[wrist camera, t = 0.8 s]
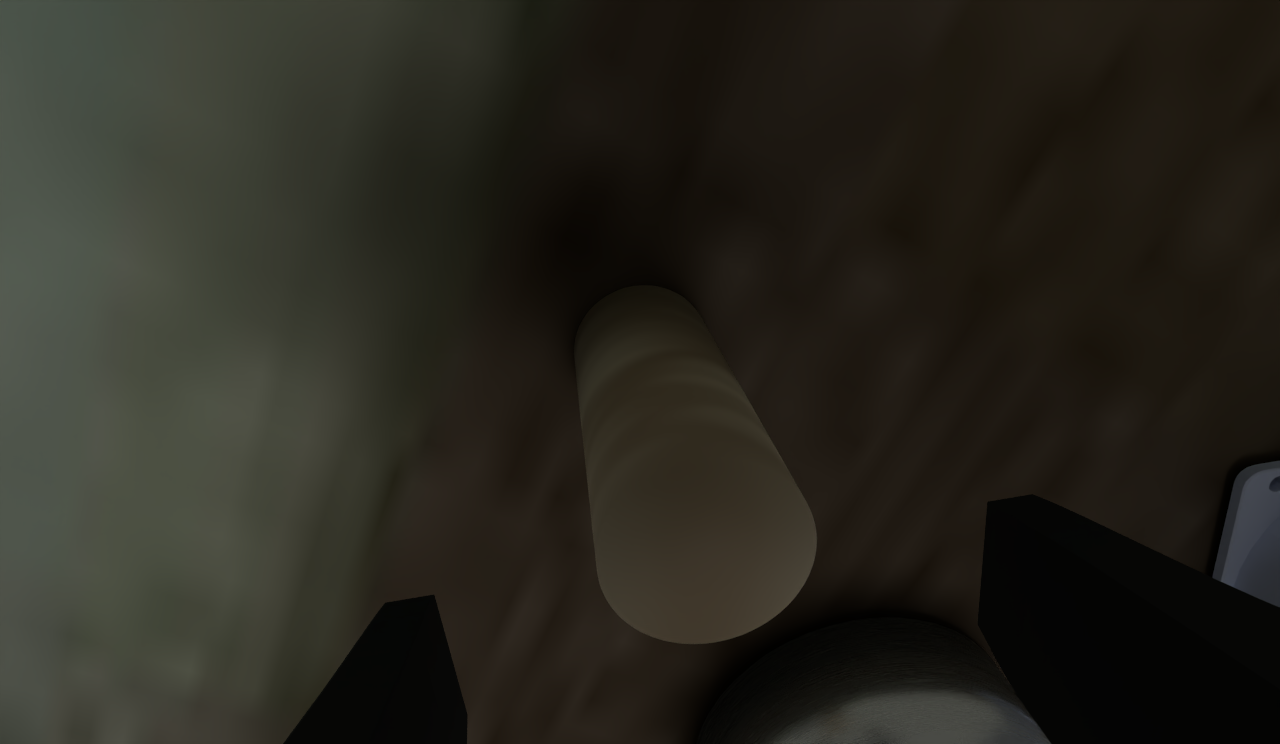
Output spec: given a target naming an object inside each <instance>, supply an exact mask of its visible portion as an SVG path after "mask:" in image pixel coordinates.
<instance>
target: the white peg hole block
mask: <svg viewBox="0 0 1280 744" xmlns="http://www.w3.org/2000/svg"><path fill="white" fill-rule="evenodd" d="M696 744H1051V743H1050V741H1049V740H1048V738H1047V737H1046V736H1045V734H1044V733H1043V731H1042V730H1041V729H1040V727H1039V726H1038V724H1037V723H1036V722H1035V720H1034V719H1033V717H1032V716H1031V715H1030V713H1029V712H1028V710H1027V709H1026V708H1025V706H1024V705H1023V703H1022V702H1021V700H1020V699H1019V698H1018V696H1017V695H1016V693H1015V691H1014V689H1013V688H1012V686H1011V685H1010V683H1009V682H1008V681H1007V679H1006V678H1005V677H1004V675H1003V674H1002V672H1001V671H1000V670H999V668H998V667H997V665H996V664H995V663H994V661H993V660H992V659H991V658H990V657H989V656H988V655H987V653H986V652H985V651H984V650H983V649H982V648H981V647H979V646H978V645H977V644H976V643H974V642H973V641H972V640H971V639H969V638H967V637H965V636H964V635H962V634H960V633H958V632H956V631H955V630H952V629H949V628H947V627H944V626H941V625H939V624H936V623H931V622H927V621H922V620H918V619H909V618H899V617H884V618H868V619H860V620H852V621H848V622H843V623H839V624H834V625H830V626H827V627H824V628H821V629H818V630H815V631H812V632H809V633H807V634H804V635H802V636H800V637H798V638H795V639H793V640H791V641H789V642H787V643H785V644H783V645H781V646H780V647H778V648H776V649H774V650H773V651H771V652H769V653H768V654H766V655H765V656H763V657H762V658H761V659H759V660H758V661H756V662H755V663H754V664H752V665H751V666H749V667H748V668H747V669H746V670H745V671H744V672H743V673H742V674H741V675H739V676H738V677H737V678H736V679H735V680H734V681H733V682H732V683H731V684H730V685H729V687H728V688H727V689H726V690H725V691H724V692H723V693H722V694H721V696H720V697H719V698H718V700H717V701H716V703H715V704H714V706H713V707H712V709H711V710H710V712H709V714H708V716H707V718H706V720H705V722H704V724H703V726H702V728H701V730H700V734H699V737H698V740H697V743H696Z"/></svg>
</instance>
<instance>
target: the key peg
mask: <svg viewBox="0 0 1280 744" xmlns="http://www.w3.org/2000/svg"><path fill="white" fill-rule="evenodd" d="M574 360H575V369H576V379H577V388H578V397H579V407H580V416H581V426H582V435H583V444H584V454H585V463H586V472H587V482H588V491H589V501H590V510H591V519H592V529H593V538H594V548H595V557H596V566H597V575H598V579H599V583H600V587H601V589H602V592H603V594H604V596H605V598H606V600H607V601H608V603H609V604H610V606H611V608H612V609H613V610H614V611H615V612H616V613H617V614H618V616H619V617H621V618H622V619H623V620H624V621H625V622H626V623H628V624H629V625H630V626H632V627H634V628H635V629H637V630H638V631H640V632H642V633H644V634H647V635H649V636H651V637H654V638H657V639H660V640H664V641H669V642H674V643H683V644H705V643H713V642H719V641H723V640H728V639H731V638H734V637H737V636H740V635H743V634H745V633H748V632H750V631H752V630H754V629H756V628H758V627H760V626H761V625H763V624H765V623H767V622H768V621H769V620H771V619H772V618H774V617H775V616H776V615H778V614H779V613H780V612H781V611H782V610H783V609H784V608H786V607H787V606H788V605H789V604H790V602H791V601H792V600H793V599H794V598H795V597H796V596H797V594H798V593H799V591H800V590H801V588H802V587H803V585H804V584H805V582H806V580H807V578H808V576H809V574H810V571H811V569H812V566H813V563H814V559H815V554H816V545H817V535H816V526H815V522H814V519H813V515H812V513H811V511H810V508H809V506H808V504H807V502H806V500H805V499H804V497H803V495H802V493H801V492H800V490H799V488H798V486H797V485H796V483H795V481H794V479H793V478H792V476H791V474H790V472H789V471H788V469H787V467H786V465H785V464H784V462H783V460H782V458H781V457H780V455H779V453H778V451H777V449H776V448H775V446H774V444H773V442H772V441H771V439H770V437H769V435H768V434H767V432H766V430H765V428H764V427H763V425H762V423H761V421H760V420H759V418H758V416H757V414H756V413H755V411H754V409H753V407H752V406H751V404H750V402H749V400H748V399H747V397H746V395H745V393H744V391H743V390H742V388H741V386H740V384H739V383H738V381H737V379H736V377H735V376H734V374H733V372H732V370H731V369H730V367H729V365H728V363H727V362H726V360H725V358H724V356H723V355H722V353H721V351H720V349H719V348H718V346H717V344H716V342H715V341H714V339H713V337H712V335H711V334H710V332H709V330H708V328H707V326H706V325H705V323H704V321H703V319H702V318H701V316H700V315H699V313H698V311H697V310H696V309H695V308H694V307H693V305H692V304H691V303H690V302H688V301H687V300H686V299H685V298H684V297H682V296H681V295H679V294H677V293H675V292H673V291H671V290H669V289H666V288H662V287H658V286H652V285H638V286H631V287H626V288H623V289H620V290H617V291H615V292H613V293H611V294H608V295H607V296H605V297H604V298H602V299H601V300H600V301H598V302H597V303H596V304H595V305H594V306H593V307H592V308H591V309H590V310H589V311H588V312H587V314H586V315H585V317H584V318H583V320H582V322H581V324H580V326H579V328H578V331H577V334H576V338H575V343H574Z"/></svg>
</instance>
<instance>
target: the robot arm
mask: <svg viewBox="0 0 1280 744" xmlns="http://www.w3.org/2000/svg"><path fill="white" fill-rule="evenodd" d="M978 626H979V628H980V630H981V631H982V633H983V635H984V637H985V639H986V641H987V643H988V645H989V646H990V648H991V650H992V652H993V654H994V656H995V658H996V660H997V661H998V663H999V665H1000V667H1001V669H1002V670H1003V672H1004V674H1005V676H1006V677H1007V679H1008V681H1009V682H1010V684H1011V686H1012V688H1013V689H1014V691H1015V693H1016V695H1017V696H1018V698H1019V699H1020V700H1021V702H1022V703H1023V705H1024V706H1025V708H1026V709H1027V710H1028V712H1029V713H1030V715H1031V716H1032V717H1033V719H1034V720H1035V722H1036V723H1037V724H1038V726H1039V727H1040V729H1041V730H1042V731H1043V733H1044V734H1045V736H1046V737H1047V738H1048V740H1049V741H1050V743H1051V744H1280V461H1274V462H1268V463H1262V464H1256V465H1252V466H1249V467H1246V468H1245V469H1244V470H1242V471H1241V472H1240V473H1239V474H1238V475H1237V476H1236V479H1235V481H1234V485H1233V489H1232V494H1231V498H1230V502H1229V507H1228V511H1227V515H1226V520H1225V524H1224V528H1223V533H1222V537H1221V541H1220V546H1219V550H1218V555H1217V559H1216V563H1215V568H1214V572H1213V576H1212V577H1210V576H1208V575H1205V574H1203V573H1201V572H1199V571H1197V570H1195V569H1193V568H1190V567H1188V566H1186V565H1184V564H1182V563H1180V562H1178V561H1175V560H1173V559H1171V558H1169V557H1167V556H1165V555H1163V554H1161V553H1159V552H1157V551H1154V550H1152V549H1150V548H1148V547H1146V546H1144V545H1142V544H1140V543H1138V542H1136V541H1134V540H1131V539H1129V538H1127V537H1125V536H1123V535H1121V534H1119V533H1117V532H1115V531H1113V530H1111V529H1109V528H1106V527H1104V526H1102V525H1100V524H1098V523H1096V522H1094V521H1092V520H1090V519H1087V518H1085V517H1083V516H1081V515H1079V514H1077V513H1075V512H1072V511H1070V510H1068V509H1066V508H1064V507H1062V506H1059V505H1057V504H1055V503H1052V502H1050V501H1048V500H1045V499H1043V498H1040V497H1038V496H1035V495H1033V494H1031V495H1025V496H1020V497H1014V498H1008V499H1002V500H996V501H990V502H988V503H987V515H986V528H985V540H984V552H983V565H982V577H981V589H980V602H979V614H978ZM283 744H467V712H466V708H465V704H464V701H463V697H462V694H461V690H460V686H459V683H458V679H457V675H456V672H455V668H454V665H453V661H452V657H451V654H450V650H449V647H448V643H447V639H446V636H445V632H444V628H443V625H442V621H441V618H440V614H439V610H438V607H437V603H436V600H435V596H434V595H429V596H423V597H417V598H411V599H405V600H399V601H393V602H387V603H385V604H384V605H383V606H382V608H381V609H380V610H379V611H378V613H377V614H376V616H375V617H374V618H373V620H372V621H371V622H370V624H369V625H368V627H367V628H366V629H365V631H364V632H363V634H362V635H361V637H360V638H359V640H358V641H357V642H356V644H355V645H354V647H353V648H352V650H351V651H350V652H349V654H348V655H347V657H346V658H345V660H344V661H343V662H342V664H341V665H340V667H339V668H338V669H337V671H336V672H335V674H334V675H333V677H332V678H331V679H330V681H329V682H328V684H327V685H326V686H325V688H324V689H323V691H322V692H321V693H320V695H319V696H318V697H317V699H316V700H315V702H314V703H313V704H312V706H311V707H310V708H309V710H308V711H307V712H306V714H305V715H304V716H303V718H302V719H301V720H300V722H299V723H298V724H297V726H296V727H295V728H294V730H293V731H292V733H291V734H290V735H289V737H288V738H287V739H286V741H285V742H284V743H283Z"/></svg>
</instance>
